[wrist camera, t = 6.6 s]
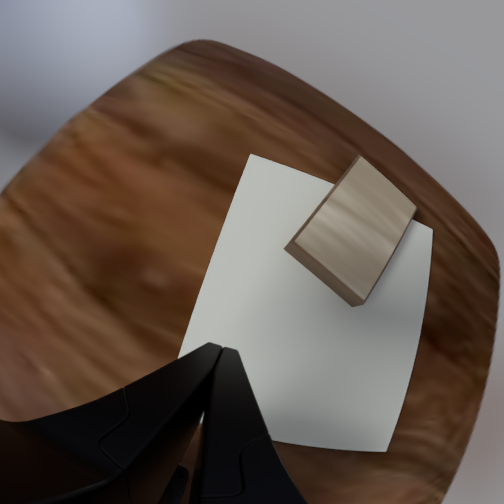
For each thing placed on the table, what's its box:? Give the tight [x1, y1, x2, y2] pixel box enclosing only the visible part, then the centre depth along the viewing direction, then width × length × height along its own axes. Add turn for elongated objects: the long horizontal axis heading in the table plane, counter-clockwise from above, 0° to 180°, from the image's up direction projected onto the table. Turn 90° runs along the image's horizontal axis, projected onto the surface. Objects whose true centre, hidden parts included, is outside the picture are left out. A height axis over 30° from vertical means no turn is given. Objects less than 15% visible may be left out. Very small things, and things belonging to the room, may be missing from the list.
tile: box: [283, 155, 417, 307], centre depth 19 cm, size 2×6×9 cm
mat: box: [178, 154, 433, 452], centre depth 19 cm, size 18×16×1 cm
